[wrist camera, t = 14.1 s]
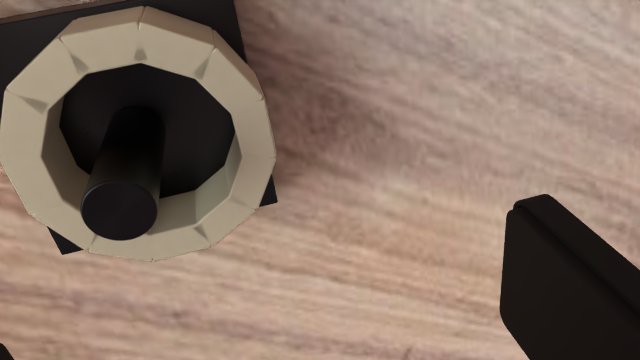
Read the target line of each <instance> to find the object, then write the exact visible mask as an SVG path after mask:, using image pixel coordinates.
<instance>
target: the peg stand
mask: <svg viewBox="0 0 640 360" xmlns="http://www.w3.org/2000/svg"><path fill="white" fill-rule="evenodd" d="M139 6H144V7H145V8H146V6H149V7H152V8H155V9H158V10H161V11H164V12H167V13H170V14H173V15H176V16H179V17H182V18H185V19H188V20H191V21H194V22H197V23H200V24H203V25H206V26H209V27H211V28H212V30H215V31H216V32H217V33H218V34H219V35H220V36H221V37H222V38H223V39H224V40H225V42H226V43H227V44H228V45H229V46H230V47H231V48H232V49H233V50H234V51H235V52H236V53H237V55H238V56H239V57H240V58H241V59H242V60H243V61H244V62H245V63H246V64H247V60H246V56H245V51H244V46H243V42H242V37H241V33H240V28H239V24H238V19H237V15H236V10H235V6H234V1H233V0H99V1H94V2H88V3H83V4H77V5H72V6H67V7H61V8H56V9H50V10H45V11H39V12H34V13H29V14H23V15H18V16H12V17H7V18H1V19H0V125H1V116H2V108H3V100H4V92H5V90H6V89H7V88H6V87H7V86H8V85H9V84H10V83H11V82H12V81H13V80H14V79H15V78H16V77H17V76H18V75H19V73H20V72H21V71H22V70H23V69H24V68H25V67H26V66H27V65H28V64H29V63H30V62H31V61H32V60H33V59H34V58H35V57H36V56H37V55H38V54H39V53H40V52H41V51H42V50H43V49H44V48H45V47H46V46H48V45H49V44H50V43H51V42H52V41H53V40H54V39H55V38H56V37H57V36H58V35H59V34H60V33H61V32H62V31H63V30H64V29H65V28H66V27H67V26H68V25H69V24H70V23H71V22H72V21H73V20H77V19H78V18H81V17H87V16H92V15H97V14H102V13H108V12H113V11H118V10H123V9H129V8H134V7H139ZM59 128H60V130H61V132H62V134H63V136H64V139H65V141H66V143H67V145H68V147H69V149H70V152H71V154H72V156H73V158H74V160H75V162H76V165H77V166H78V167H79V168H81V169H82V170H83V171H85V172H86V173H87V174H89V175H90V178H89V181H88V184H87V186H86V189H85V192H84V195H83V197H82V200H81V204H80V213H81V217H82V219H83V221H84V223H85V224H86V226H87V227H88V228H89V229H90V230H91V231H92V232H94V233H95V234H97V235H98V236H100V237H103V238H106V239H109V240H115V241H126V240H132V239H135V238H138V237H140V236H142V235H143V234H145V233H146V232H147V231H149V230H150V229H151V227H152V226H153V225H154V223H155V221H156V219H157V214H158V205H159V199H161V198H165V197H169V196H174V195H178V194H182V193H186V192H190V191H195V190H196V189H198V188H199V187H200V186H201V185H202V184H203V183H205V182H206V181H207V180H208V179H209V178H210V177H212V176H213V175H214V174H215V173H216V172H217V171H219V170H220V169H221V168H222V167H223V166H224V165H225V162H226V159H227V156H228V153H229V150H230V147H231V144H232V141H233V138H234V135H235V132H236V131H235V127H234V124H233V120H232V116H231V113H230V112H229V111H228V110H227V109H226V108H224V107H223V106H222V105H221V104H220V103H219V102H218V101H217V100H216V99H215V98H214V97H213V96H212V95H211V94H210V93H209V92H208V91H207V90H206V89H205V88H204V87H203V86H202V85H201V84H200V83H199V82H198V81H197V80H196V79H194V78H191V77H187V76H184V75H180V74H177V73H174V72H170V71H167V70H163V69H160V68H156V67H153V66H150V65H146V64H143V63H138V64H133V65H129V66H124V67H119V68H114V69H109V70H104V71H99V72H94V73H89V74H86V75H85V76H84V77H83V78H82V79H81V80H80V81H79V82H78V83H77V84H76V85H75V86H74V87H73V88H72V89H71V90H70V91H68V92H67V93H66V94H65V95H64V100H63V106H62V111H61V117H60V123H59ZM277 202H278V200H277V196H276V191H275V187H274V182H273V177H272V173H271V176H270V178H269V181H268V184H267V186H266V189H265V192H264V194H263V197H262V200H261V202H260V205H259V207H261V206H265V205H269V204H273V203H277ZM47 227H48V226H47ZM48 229H49V231H50V233H51V235H52V237H53V239H54V241H55V242H56V244H57V246H58V248H59V250H60V252H61V254H62V255H64V254H68V253H72V252H77V251H81V250H84V249H82V248H81V247H79V246H77V245H76V244H74V243H73V242H71V241H70V240H68V239H66V238H65V237H63V236H62V235H60V234H59V233H57V232H55V231H54V230H52V229H51V228H49V227H48Z"/></svg>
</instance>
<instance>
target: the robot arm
mask: <svg viewBox="0 0 640 360" xmlns="http://www.w3.org/2000/svg"><path fill="white" fill-rule="evenodd" d="M500 314H501V318H502V320H503V323H504V324H505V326H506V328H507V329H508V330H509V332H510V333H511V335H512V336H513V337H514V339H515V340H516V341H517V343H518V344H519V346H520V347H521V348H522V350H523V351H524V352H525V354H526V355H527V357H528V358H529V359H530V360H640V270H639V269H638V268H637V267H635V266H634V265H633V264H632V263H631V262H629V261H628V260H627V259H626V258H625V257H623V256H622V255H621V254H620V253H619V252H617V251H616V250H615V249H614V248H613V247H612V246H610V245H609V244H608V243H607V242H606V241H604V240H603V239H602V238H601V237H600V236H598V235H597V234H596V233H595V232H594V231H592V230H591V229H590V228H589V227H588V226H586V225H585V224H584V223H583V222H582V221H580V220H579V219H578V218H577V217H576V216H574V215H573V214H572V213H571V212H570V211H568V210H567V209H566V208H565V207H564V206H563V205H561V204H560V203H559V202H558V201H557V200H555V199H554V198H553V197H551V196H550V195H548V194H542V195H538V196H534V197H530V198H527V199H523V200H519V201H517V202H516V203H515V204H514V207H513V210H510V211H509V212H508V213H507V217H506V230H505V243H504V256H503V269H502V283H501V296H500ZM0 360H14V359H13V357H12V356H11V354H10V353H9V351H8V350H7V349H6V347H5V346H4V345H3V344H1V343H0Z"/></svg>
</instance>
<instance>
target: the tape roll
mask: <svg viewBox="0 0 640 360" xmlns="http://www.w3.org/2000/svg"><path fill="white" fill-rule="evenodd" d="M138 63H143V64H146V65H150V66H153V67H156V68H160V69H163V70H167V71H170V72H174V73H177V74H180V75H184V76H187V77H191V78H194V79H196V80H197V81H198V82H199V83H200V84H201V85H202V86H203V87H204V88H205V89H206V90H207V91H208V92H209V93H210V94H211V95H212V96H213V97H214V98H215V99H216V100H217V101H218V102H219V103H220V104H221V105H222V106H223V107H224V108H226V109H227V110H228V111H229V112H230V113H231V116H232V120H233V124H234V127H235V131H236V132H235V135H234V138H233V141H232V144H231V147H230V150H229V153H228V156H227V159H226V162H225V165H224V166H223V167H222V168H221V169H220V170H219V171H217V172H216V173H215V174H214V175H213V176H212V177H210V178H209V179H208V180H207V181H206V182H205V183H203V184H202V185H201V186H200V187H199V188H198V189H196V190H195V191H190V192H186V193H182V194H178V195H174V196H169V197H165V198H161V199H159V205H158V214H157V219H156V221H155V223H154V225H153V226H152V227H151V229H150V230H149V231H147V232H146V233H145V234H143V235H142V236H140V237H138V238H135V239H132V240H126V241H115V240H109V239H106V238H103V237H100V236H98V235H97V234H95V233H94V232H92V231H91V230H90V229H89V228H88V227H87V226H86V224H85V223H84V221H83V219H82V217H81V213H80V204H81V200H82V197H83V195H84V192H85V189H86V186H87V184H88V181H89V178H90V175H89V174H87V173H86V172H85V171H83V170H82V169H81V168H79V167H78V166H77V165H76V162H75V160H74V158H73V156H72V154H71V152H70V149H69V147H68V145H67V143H66V141H65V139H64V136H63V134H62V132H61V130H60V128H59V123H60V117H61V111H62V106H63V100H64V95H65V94H66V93H67V92H68V91H70V90H71V89H72V88H73V87H74V86H75V85H76V84H77V83H78V82H79V81H80V80H81V79H82V78H83V77H84V76H85V75H86V74H89V73H94V72H99V71H104V70H109V69H114V68H119V67H124V66H129V65H133V64H138ZM6 88H7V89H6V90H5V92H4V100H3V108H2V116H1V125H0V163H1V165H2V166H3V168H4V170H5V172H6V174H7V176H8V177H9V179H10V181H11V183H12V185H13V186H14V188H15V190H16V192H17V194H18V195H19V197H20V199H21V201H22V203H23V204H24V206H25V208H26V210H27V212H28V213H29V214H32V216H33V217H34V218H35V219H37V220H38V221H40V222H41V223H43V224H45V225H46V226H48V227H49V228H51V229H52V230H54V231H55V232H57V233H59V234H60V235H62V236H63V237H65V238H66V239H68V240H70V241H71V242H73V243H74V244H76V245H77V246H79V247H81V248H82V249H84V250H88V252H89V253H95V254H101V255H108V256H115V257H121V258H128V259H134V260H141V261H147V262H152V260H153V261H159V260H163V259H167V258H171V257H175V256H179V255H182V254H186V253H190V252H194V251H198V250H202V249H206V248H210V247H211V246H212V245H213V246H214V245H216V244H217V243H218V242H219V241H221V240H222V239H223V238H224V237H225V236H227V235H228V234H229V233H230V232H231V231H233V230H234V229H235V228H236V227H237V226H239V225H240V224H241V223H242V222H244V221H245V220H246V219H247V218H248V217H250V216H251V215H252V214H253V213H254V212H256V209H258V207H259V205H260V202H261V200H262V197H263V194H264V192H265V189H266V186H267V184H268V181H269V178H270V176H271V173H272V170H273V168H274V165H275V163H276V160H277V157H276V156H277V151H276V147H275V142H274V137H273V133H272V128H271V123H270V119H269V114H268V109H267V104H266V100H265V97H264V95H263V92H262V89H261V87H260V84H259V81H258V79H257V77H256V75H255V73H254V72H253V71H252V70H251V69H250V67H249V66H248V65H247V64H246V63H245V62H244V61H243V60H242V59H241V58H240V57H239V56H238V55H237V53H236V52H235V51H234V50H233V49H232V48H231V47H230V46H229V45H228V44H227V43H226V42H225V40H224V39H223V38H222V37H221V36H220V35H219V34H218V33H217V32H216V31H215V30H212V28H211V27H209V26H206V25H203V24H200V23H197V22H194V21H191V20H188V19H185V18H182V17H179V16H176V15H173V14H170V13H167V12H164V11H161V10H158V9H155V8H152V7H149V6H146V8H145V7H144V6H139V7H134V8H129V9H123V10H118V11H113V12H108V13H102V14H97V15H92V16H87V17H81V18H78V19H77V20H73V21H72V22H71V23H70V24H69V25H68V26H67V27H66V28H65V29H64V30H63V31H62V32H61V33H60V34H59V35H58V36H57V37H56V38H55V39H54V40H53V41H52V42H51V43H50V44H49V45H48V46H46V47H45V48H44V49H43V50H42V51H41V52H40V53H39V54H38V55H37V56H36V57H35V58H34V59H33V60H32V61H31V62H30V63H29V64H28V65H27V66H26V67H25V68H24V69H23V70H22V71H21V72H20V73H19V75H18V76H17V77H16V78H15V79H14V80H13V81H12V82H11V83H10V84H9V85H8V86H7V87H6Z"/></svg>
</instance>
